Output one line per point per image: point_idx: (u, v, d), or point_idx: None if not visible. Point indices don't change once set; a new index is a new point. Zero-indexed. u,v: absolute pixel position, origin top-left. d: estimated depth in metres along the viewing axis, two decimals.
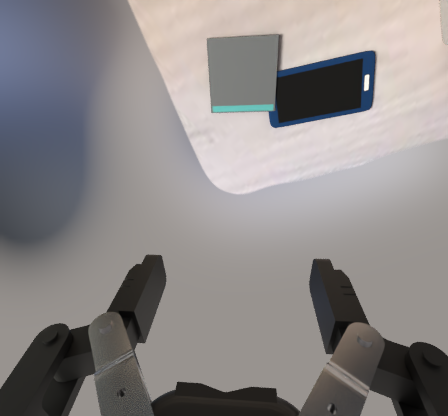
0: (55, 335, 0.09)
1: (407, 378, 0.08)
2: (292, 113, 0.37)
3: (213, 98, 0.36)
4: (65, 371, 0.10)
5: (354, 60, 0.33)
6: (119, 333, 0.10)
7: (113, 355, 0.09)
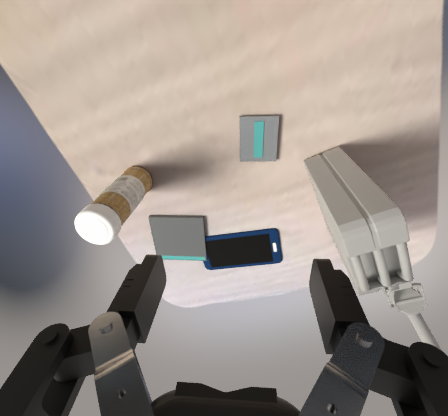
0: (55, 335, 0.09)
1: (407, 378, 0.08)
2: (221, 262, 0.46)
3: (157, 250, 0.46)
4: (65, 371, 0.10)
5: (262, 234, 0.42)
6: (119, 333, 0.10)
7: (113, 355, 0.09)
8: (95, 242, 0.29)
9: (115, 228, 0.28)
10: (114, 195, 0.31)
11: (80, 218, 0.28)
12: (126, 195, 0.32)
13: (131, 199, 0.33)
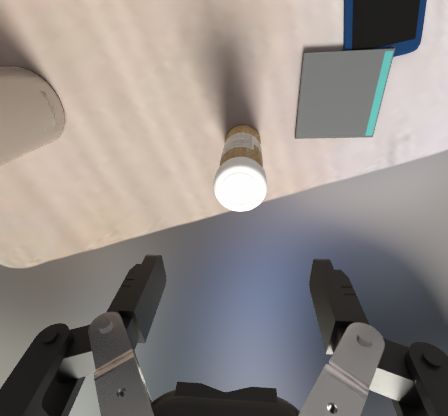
0: (55, 335, 0.09)
1: (407, 378, 0.08)
2: (407, 17, 0.25)
3: (356, 133, 0.31)
4: (65, 371, 0.10)
5: None
6: (119, 333, 0.10)
7: (113, 355, 0.09)
8: (261, 193, 0.22)
9: (240, 162, 0.21)
10: (221, 161, 0.25)
11: (223, 201, 0.22)
12: (227, 149, 0.26)
13: (235, 144, 0.26)
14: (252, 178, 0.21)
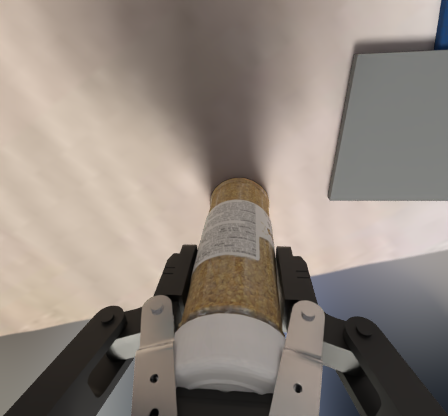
0: (112, 316, 0.10)
1: (342, 348, 0.09)
2: None
3: (437, 195, 0.18)
4: (114, 352, 0.10)
5: None
6: (172, 314, 0.10)
7: (157, 338, 0.09)
8: None
9: (228, 351, 0.08)
10: (191, 282, 0.12)
11: None
12: (204, 254, 0.12)
13: (221, 243, 0.12)
14: (259, 392, 0.08)
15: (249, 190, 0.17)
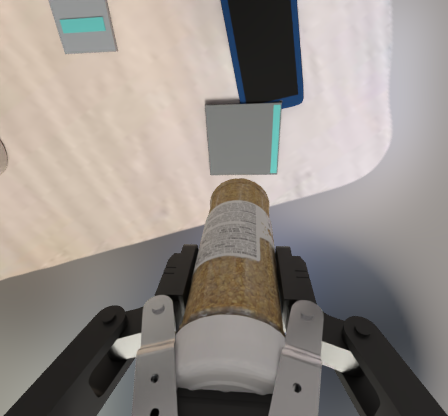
0: (113, 316, 0.10)
1: (341, 347, 0.09)
2: (287, 77, 0.29)
3: (262, 171, 0.35)
4: (115, 352, 0.10)
5: (227, 1, 0.26)
6: (173, 314, 0.10)
7: (158, 338, 0.09)
8: None
9: (229, 352, 0.08)
10: (192, 283, 0.12)
11: None
12: (205, 255, 0.12)
13: (221, 244, 0.12)
14: (260, 393, 0.08)
15: (249, 191, 0.17)
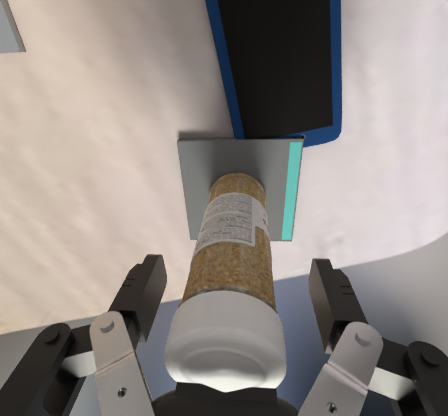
0: (56, 334, 0.09)
1: (405, 377, 0.08)
2: (315, 97, 0.17)
3: None
4: (66, 370, 0.10)
5: None
6: (120, 332, 0.10)
7: (114, 354, 0.09)
8: (273, 381, 0.09)
9: (224, 322, 0.09)
10: (191, 267, 0.13)
11: None
12: (203, 241, 0.13)
13: (219, 231, 0.13)
14: (252, 359, 0.09)
15: (246, 184, 0.18)
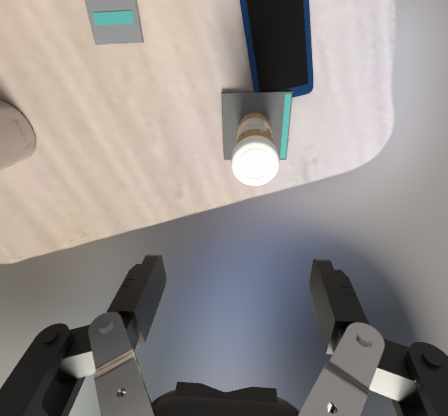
0: (55, 335, 0.09)
1: (407, 378, 0.08)
2: (298, 67, 0.31)
3: None
4: (65, 371, 0.10)
5: None
6: (119, 333, 0.10)
7: (113, 355, 0.09)
8: (274, 168, 0.24)
9: (256, 139, 0.23)
10: (236, 142, 0.28)
11: (239, 175, 0.25)
12: (242, 131, 0.28)
13: (249, 127, 0.28)
14: (266, 154, 0.23)
15: (260, 116, 0.33)
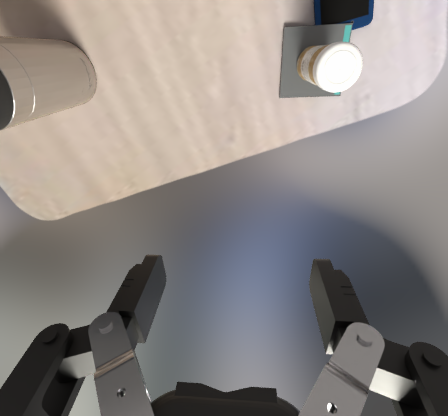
0: (55, 335, 0.09)
1: (407, 378, 0.08)
2: None
3: (327, 93, 0.39)
4: (65, 371, 0.10)
5: None
6: (119, 333, 0.10)
7: (113, 355, 0.09)
8: (357, 71, 0.26)
9: None
10: (311, 59, 0.29)
11: (323, 80, 0.27)
12: (316, 50, 0.30)
13: (322, 45, 0.30)
14: (352, 55, 0.25)
15: None
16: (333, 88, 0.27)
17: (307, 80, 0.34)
